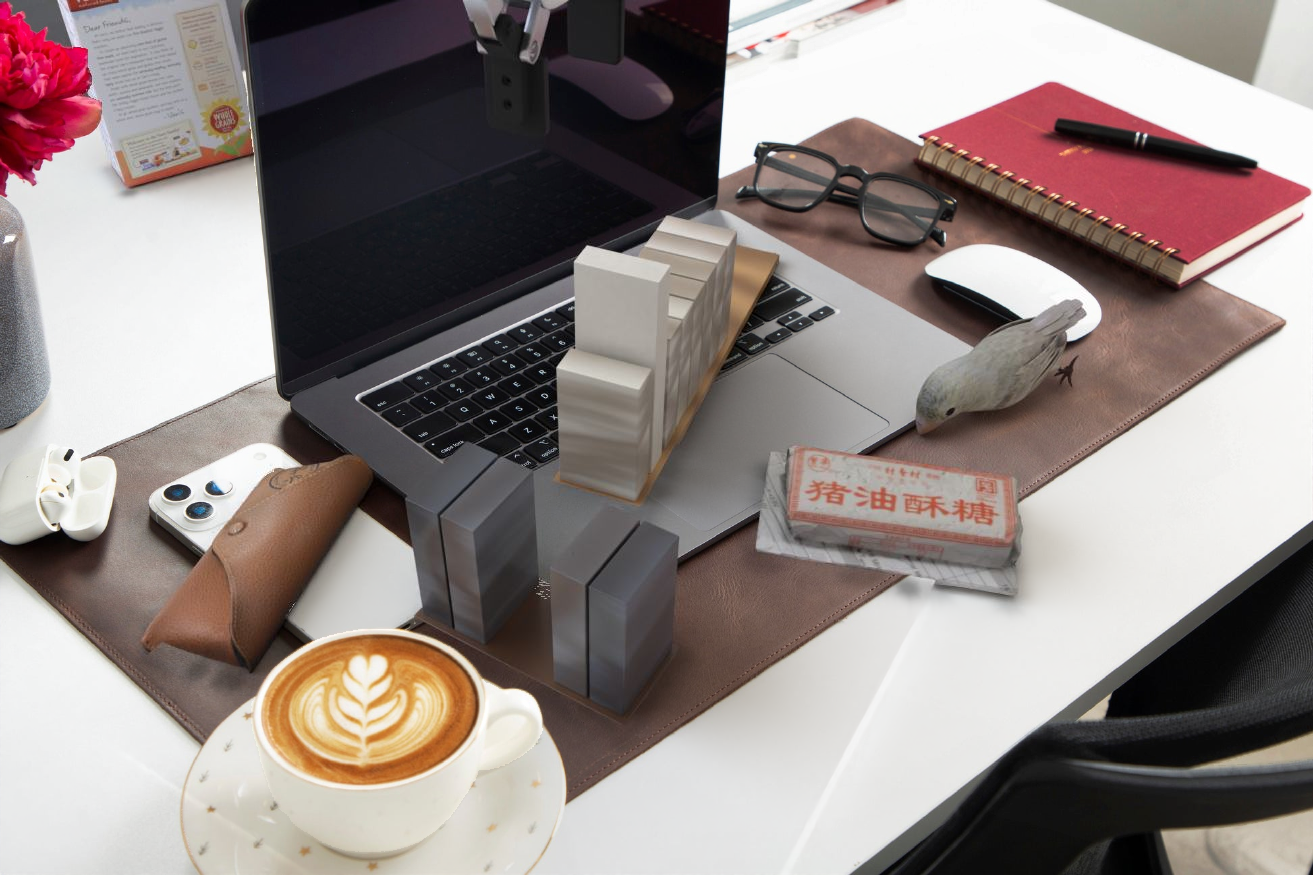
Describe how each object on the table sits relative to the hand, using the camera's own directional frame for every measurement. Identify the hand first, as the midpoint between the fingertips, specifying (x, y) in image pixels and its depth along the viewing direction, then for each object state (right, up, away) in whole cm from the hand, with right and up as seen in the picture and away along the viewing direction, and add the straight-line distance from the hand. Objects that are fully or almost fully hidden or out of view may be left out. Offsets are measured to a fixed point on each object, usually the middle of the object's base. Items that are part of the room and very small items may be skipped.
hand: (559, 93), depth 61 cm
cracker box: (-44, +10, +58) cm, 73 cm away
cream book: (+2, -20, +25) cm, 32 cm away
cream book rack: (+7, -12, +35) cm, 38 cm away
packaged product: (+22, -25, +22) cm, 40 cm away
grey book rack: (-2, -32, +13) cm, 34 cm away
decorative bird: (+32, -16, +33) cm, 49 cm away
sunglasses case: (-21, -27, +17) cm, 39 cm away
